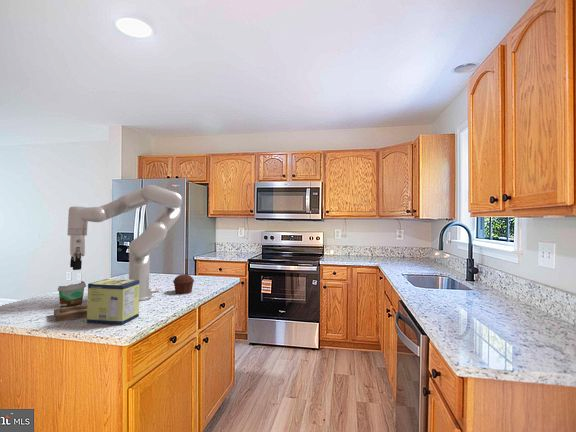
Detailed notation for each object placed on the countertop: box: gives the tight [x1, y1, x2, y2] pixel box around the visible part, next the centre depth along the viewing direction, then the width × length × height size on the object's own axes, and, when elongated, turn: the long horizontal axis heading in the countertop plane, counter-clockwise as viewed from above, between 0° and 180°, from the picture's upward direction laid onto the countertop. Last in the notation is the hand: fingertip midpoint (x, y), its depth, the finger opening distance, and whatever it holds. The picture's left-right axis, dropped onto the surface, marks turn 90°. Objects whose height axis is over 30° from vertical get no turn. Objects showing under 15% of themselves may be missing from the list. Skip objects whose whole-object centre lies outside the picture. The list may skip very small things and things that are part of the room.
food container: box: [56, 280, 87, 308], centre depth 134 cm, size 12×6×10 cm, turn 168°
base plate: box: [53, 304, 87, 323], centre depth 121 cm, size 17×11×2 cm, turn 133°
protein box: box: [86, 278, 140, 326], centre depth 116 cm, size 10×16×16 cm
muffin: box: [172, 273, 195, 295], centre depth 162 cm, size 12×11×10 cm
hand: (75, 268), depth 135 cm, fingers open, 9 cm apart
